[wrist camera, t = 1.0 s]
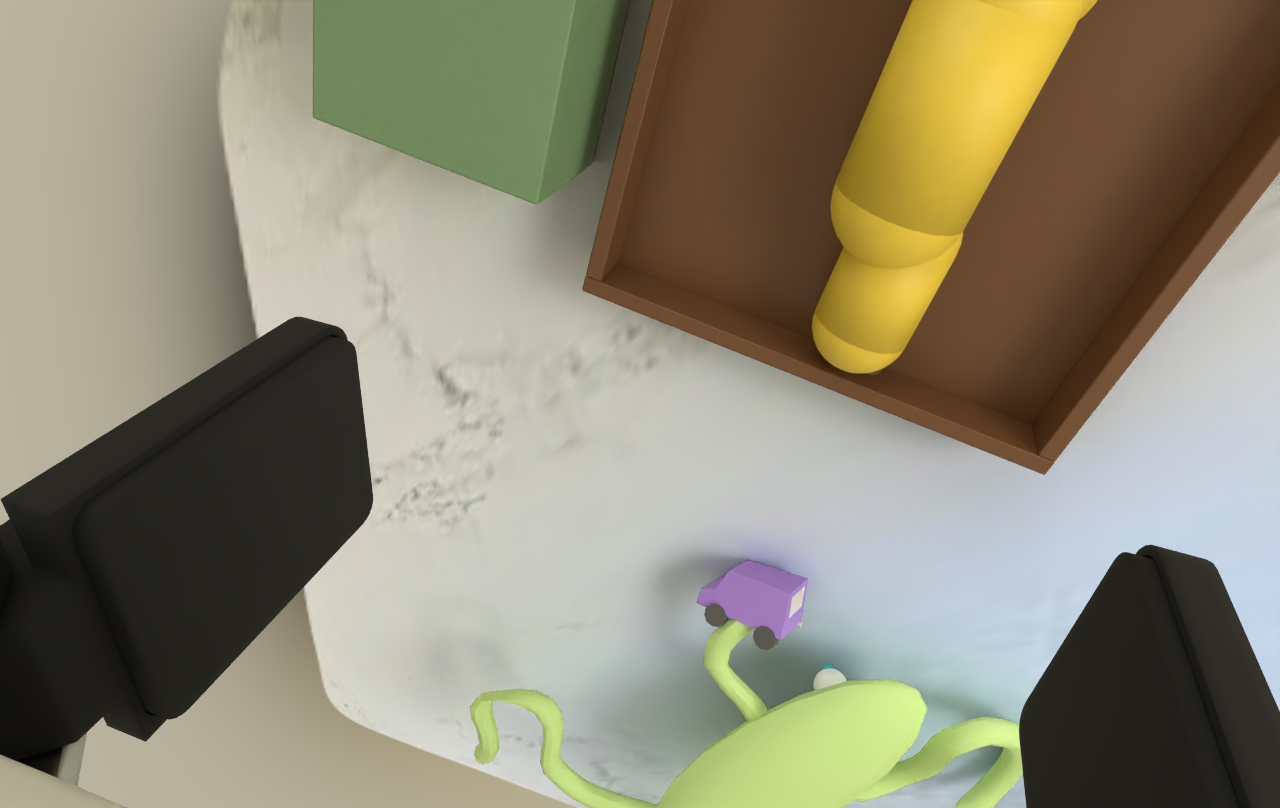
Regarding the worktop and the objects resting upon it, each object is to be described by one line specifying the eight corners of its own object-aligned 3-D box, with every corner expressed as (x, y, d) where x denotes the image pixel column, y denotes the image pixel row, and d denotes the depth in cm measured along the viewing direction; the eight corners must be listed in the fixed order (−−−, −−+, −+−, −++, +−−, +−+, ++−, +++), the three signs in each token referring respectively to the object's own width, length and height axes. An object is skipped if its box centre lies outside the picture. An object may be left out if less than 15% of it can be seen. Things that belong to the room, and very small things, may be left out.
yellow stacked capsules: (1031, -310, 18) (1079, -350, 15) (1207, -252, 18) (1294, -280, 15) (769, 316, 28) (763, 374, 25) (882, 353, 28) (890, 416, 25)
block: (415, -168, 24) (313, -184, 20) (650, -88, 23) (592, -88, 19) (398, 89, 29) (312, 118, 25) (593, 163, 28) (536, 205, 24)
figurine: (464, 655, 47) (414, 734, 42) (845, 487, 32) (830, 581, 27) (657, 841, 51) (630, 931, 46) (1070, 768, 36) (1089, 890, 32)
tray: (784, -427, 19) (766, -469, 17) (1517, -218, 17) (1599, -237, 15) (606, 264, 30) (581, 290, 28) (1036, 434, 28) (1045, 475, 26)
